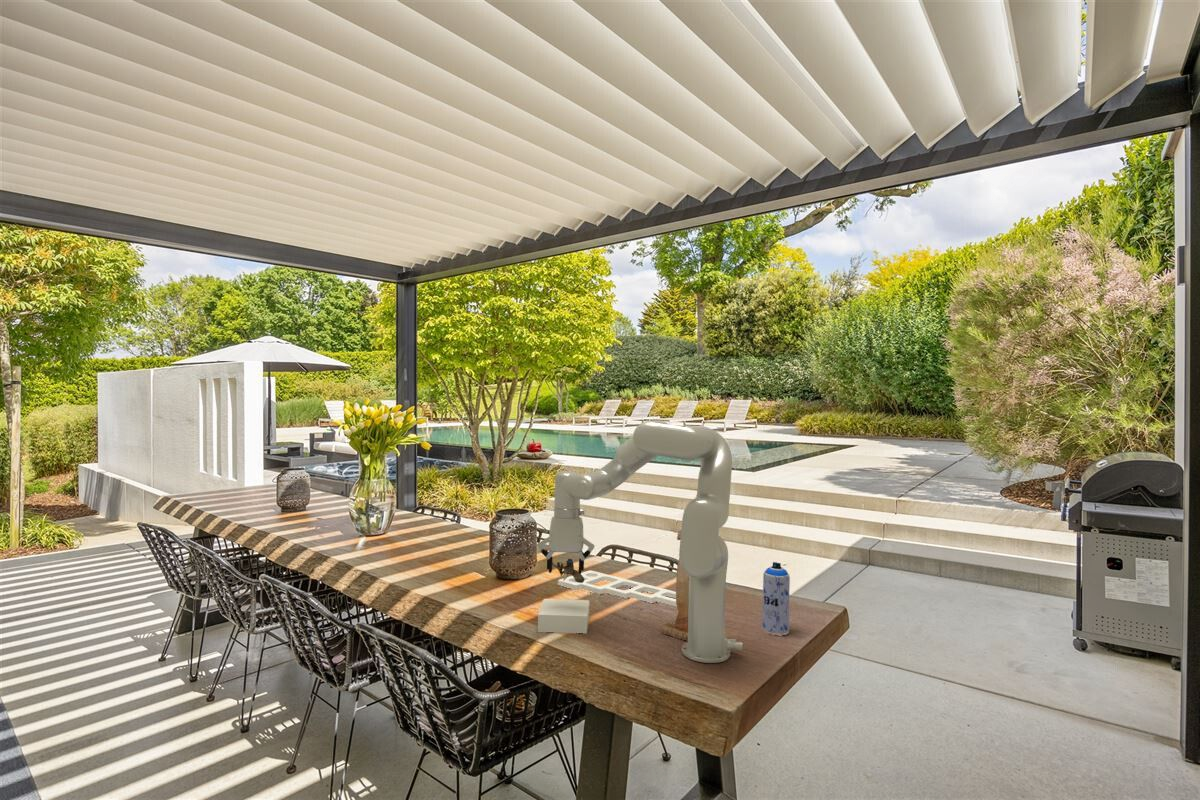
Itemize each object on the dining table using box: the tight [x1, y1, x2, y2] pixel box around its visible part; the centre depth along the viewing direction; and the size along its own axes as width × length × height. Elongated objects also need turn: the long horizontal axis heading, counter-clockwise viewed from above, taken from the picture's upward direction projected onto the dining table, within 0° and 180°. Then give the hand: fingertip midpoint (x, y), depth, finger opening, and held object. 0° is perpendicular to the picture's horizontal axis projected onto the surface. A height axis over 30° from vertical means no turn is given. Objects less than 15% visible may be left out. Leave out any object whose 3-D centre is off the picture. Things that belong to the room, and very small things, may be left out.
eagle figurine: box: [552, 558, 584, 583], centre depth 178 cm, size 8×7×9 cm
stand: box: [537, 598, 590, 635], centre depth 179 cm, size 14×14×5 cm
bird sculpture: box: [660, 529, 690, 642], centre depth 174 cm, size 11×12×32 cm
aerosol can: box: [761, 561, 791, 634], centre depth 177 cm, size 8×8×20 cm
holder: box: [557, 570, 677, 607], centre depth 208 cm, size 45×18×3 cm, turn 51°
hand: (565, 572), depth 179 cm, fingers closed on eagle figurine, 8 cm apart
